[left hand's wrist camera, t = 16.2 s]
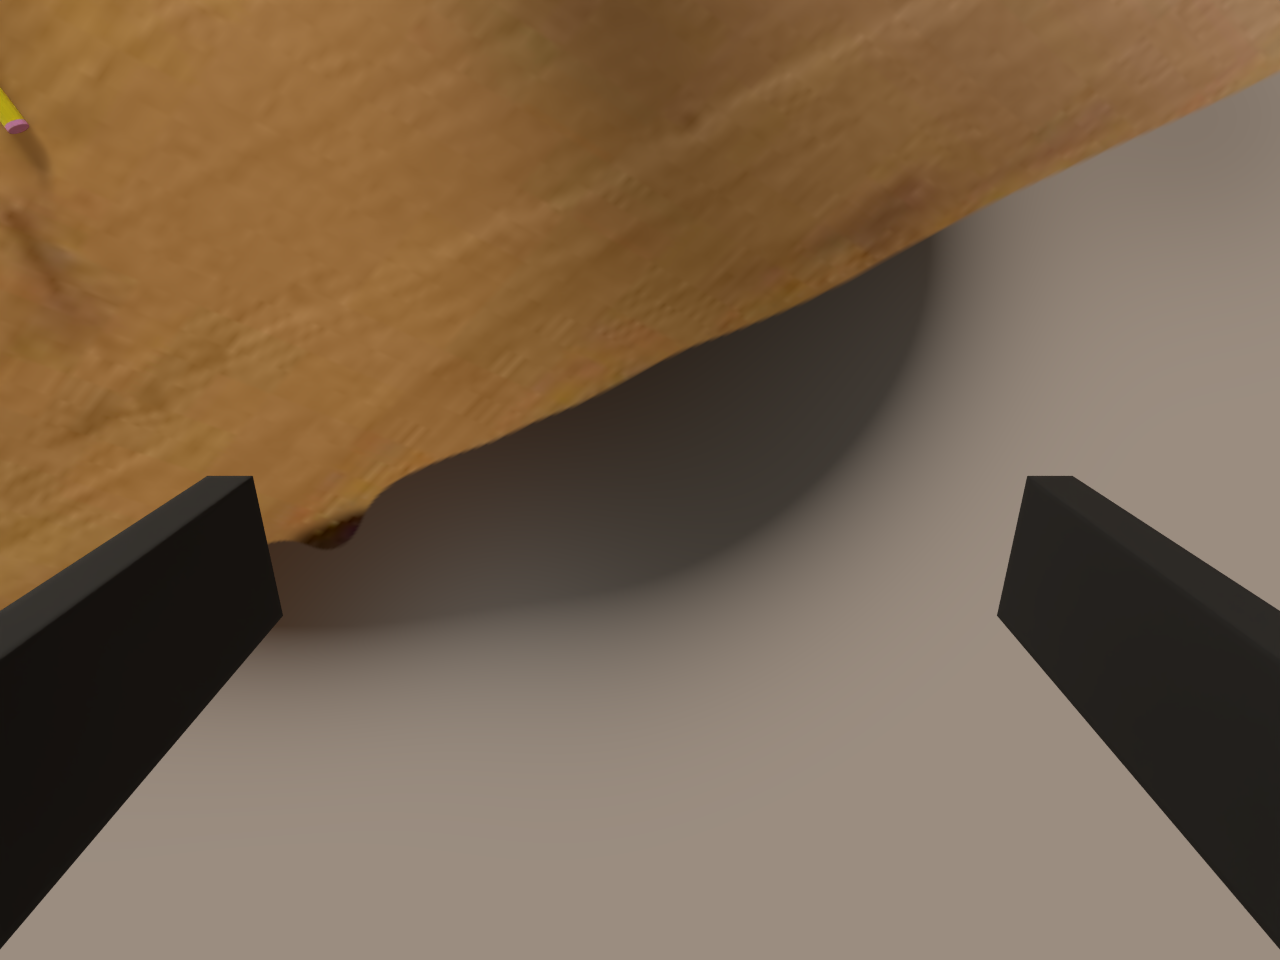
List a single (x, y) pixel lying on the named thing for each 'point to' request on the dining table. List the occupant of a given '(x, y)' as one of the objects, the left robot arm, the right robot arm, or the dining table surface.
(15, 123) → the pencil
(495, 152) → the dining table surface
